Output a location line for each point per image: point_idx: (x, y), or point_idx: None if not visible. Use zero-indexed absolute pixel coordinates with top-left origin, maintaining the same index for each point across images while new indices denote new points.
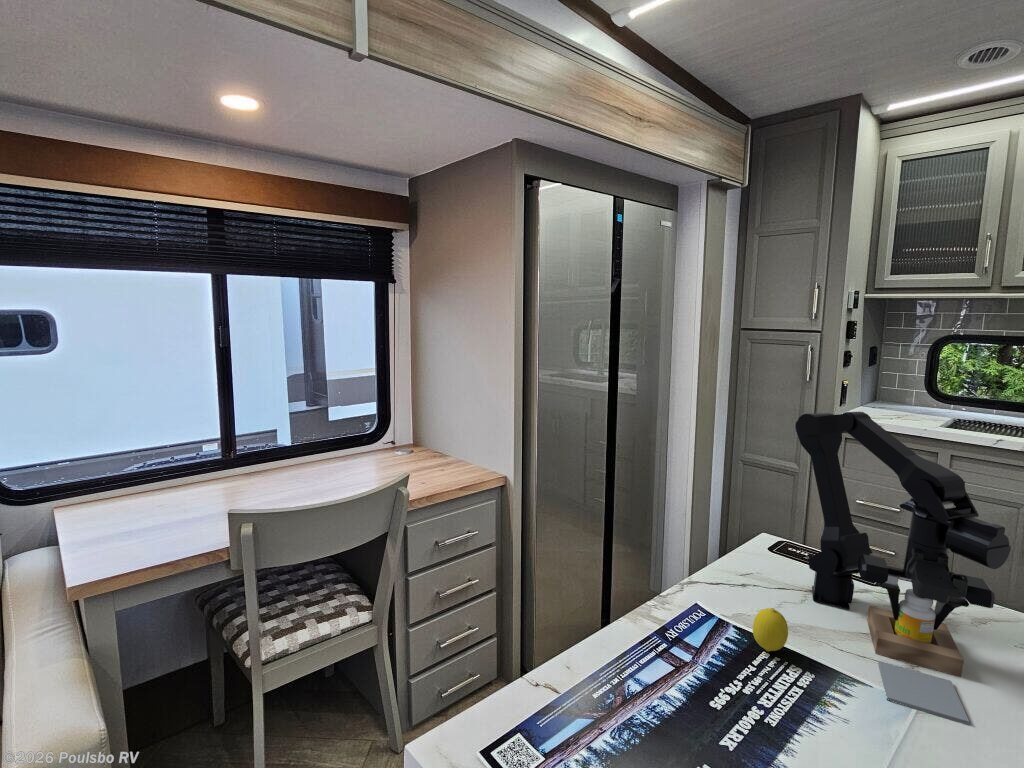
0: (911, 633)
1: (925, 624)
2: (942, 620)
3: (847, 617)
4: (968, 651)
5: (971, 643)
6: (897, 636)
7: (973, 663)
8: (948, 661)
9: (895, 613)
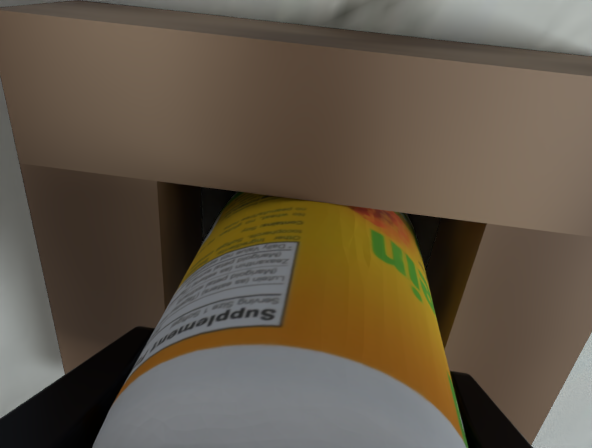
0: (358, 238)
1: (233, 306)
2: (35, 400)
3: (580, 419)
4: (25, 308)
5: (11, 375)
6: (471, 200)
7: (6, 205)
8: (120, 15)
9: (499, 427)
